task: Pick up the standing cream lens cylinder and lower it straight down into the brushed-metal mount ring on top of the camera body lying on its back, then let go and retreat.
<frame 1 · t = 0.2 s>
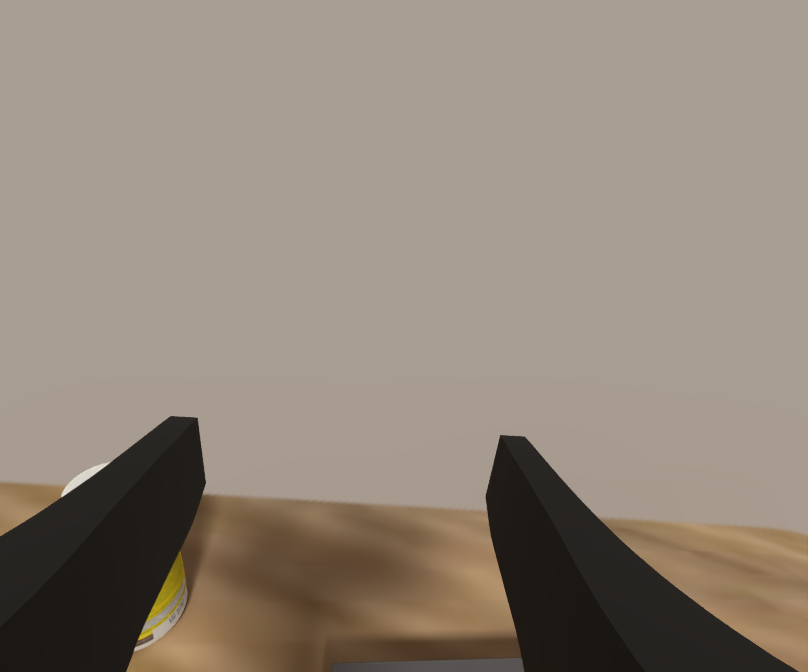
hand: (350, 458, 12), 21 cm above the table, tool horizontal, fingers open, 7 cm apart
supplement bottle: (140, 614, 29), on the table
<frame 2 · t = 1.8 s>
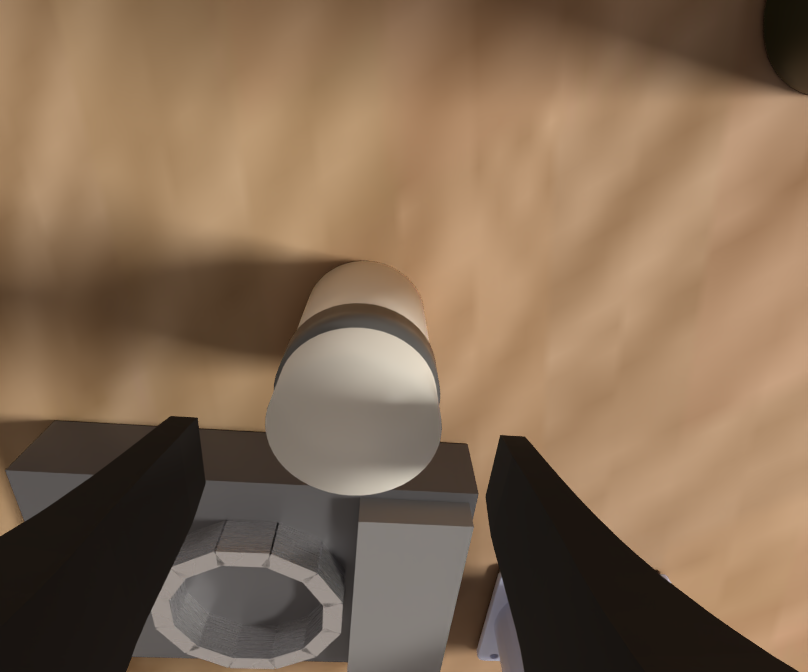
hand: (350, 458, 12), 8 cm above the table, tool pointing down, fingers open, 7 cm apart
lens: (365, 317, 19), on the table
mount ring: (252, 598, 21), point 3 cm above the table
camera body: (271, 527, 24), on the table
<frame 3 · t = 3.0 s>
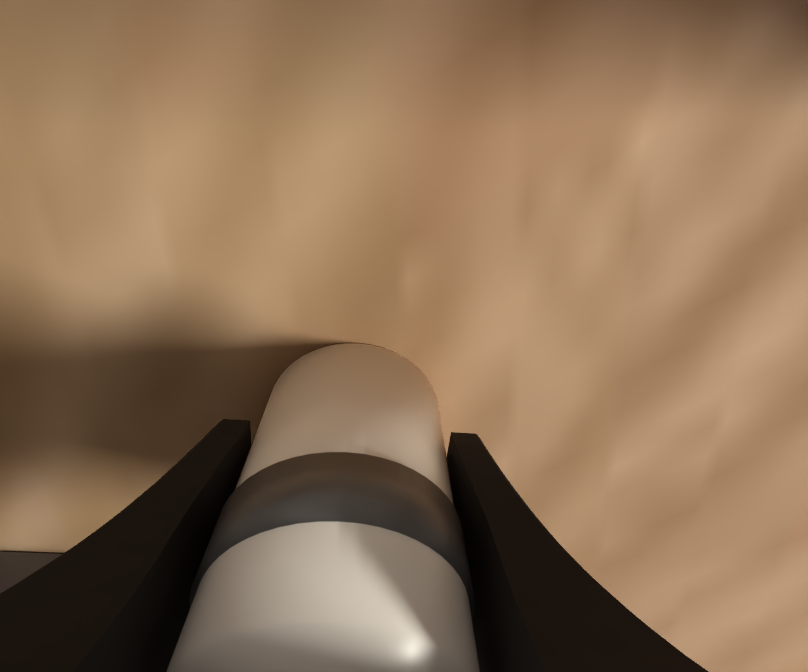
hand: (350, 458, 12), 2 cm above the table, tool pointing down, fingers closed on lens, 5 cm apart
lens: (354, 417, 13), on the table, touching gripper
camera body: (234, 664, 18), on the table
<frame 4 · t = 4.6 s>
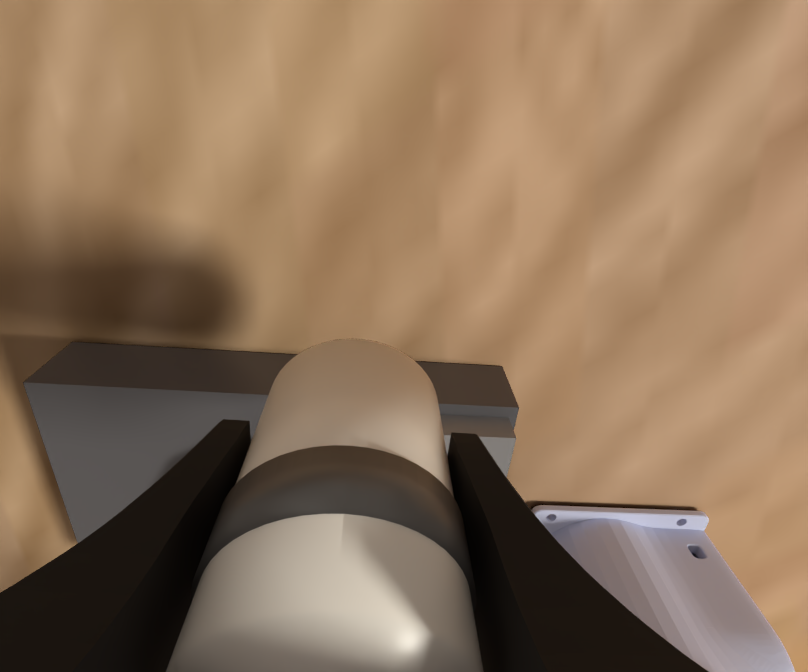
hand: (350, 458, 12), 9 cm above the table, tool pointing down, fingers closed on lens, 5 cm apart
lens: (354, 413, 13), point 7 cm above the table, touching gripper
camera body: (296, 462, 23), on the table
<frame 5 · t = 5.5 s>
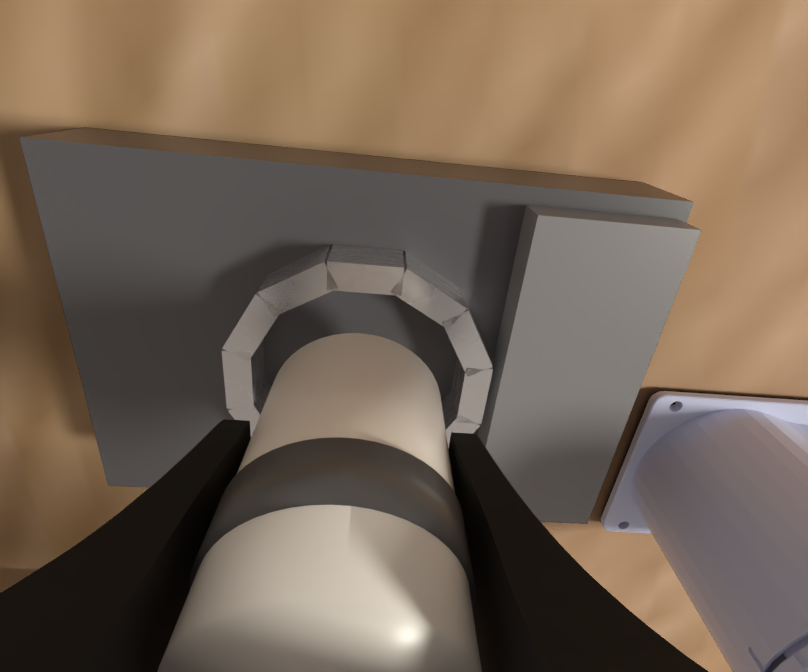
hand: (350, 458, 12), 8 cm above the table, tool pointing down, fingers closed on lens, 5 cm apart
lens: (356, 408, 13), point 6 cm above the table, touching gripper
mount ring: (359, 375, 15), point 3 cm above the table
camera body: (364, 322, 18), on the table
when the fingers open (6 cm above the table, at t = 6.3 s): lens stays where it is, resting on camera body.
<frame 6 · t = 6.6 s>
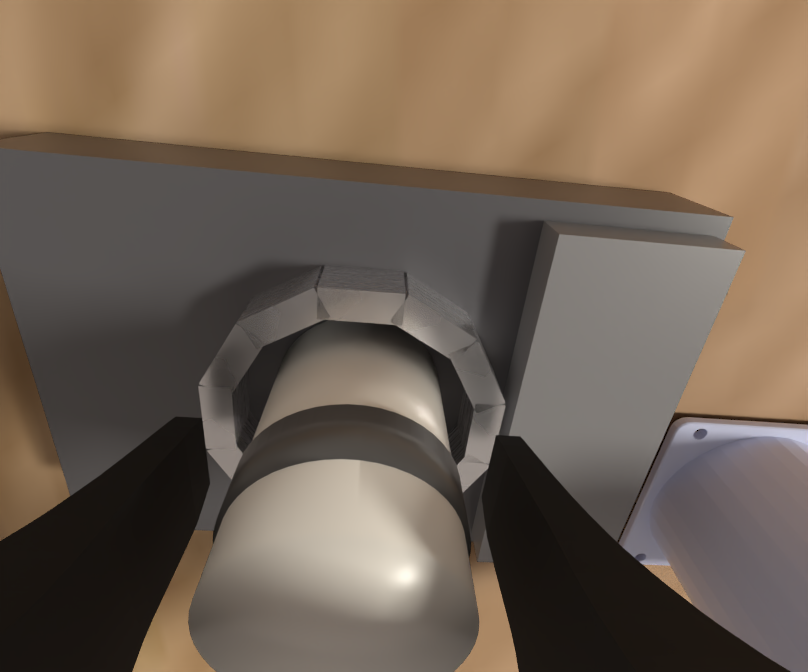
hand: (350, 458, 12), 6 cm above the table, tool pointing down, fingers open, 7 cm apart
lens: (359, 387, 14), point 3 cm above the table, touching camera body
mount ring: (355, 410, 13), point 3 cm above the table
camera body: (361, 345, 17), on the table
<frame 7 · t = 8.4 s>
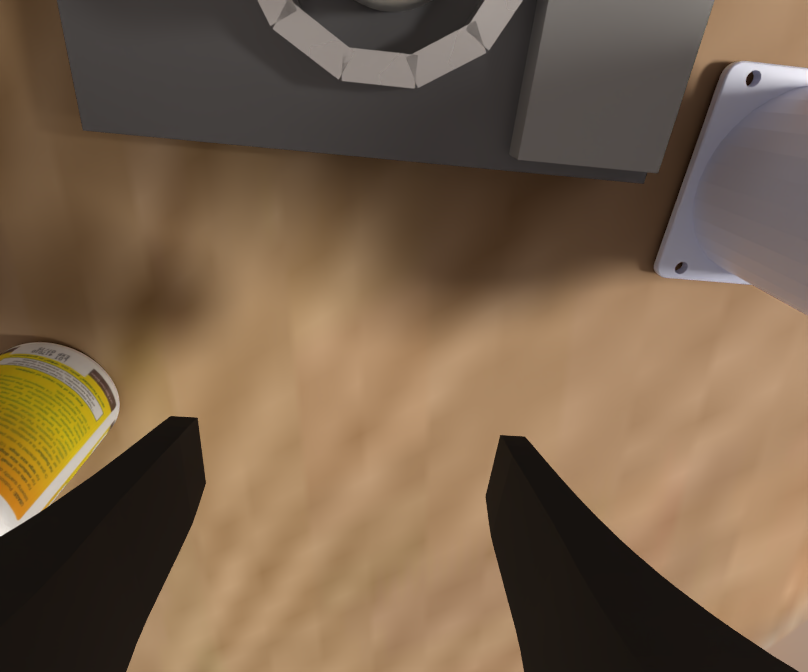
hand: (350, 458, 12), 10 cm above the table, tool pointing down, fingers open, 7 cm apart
supplement bottle: (66, 386, 23), on the table
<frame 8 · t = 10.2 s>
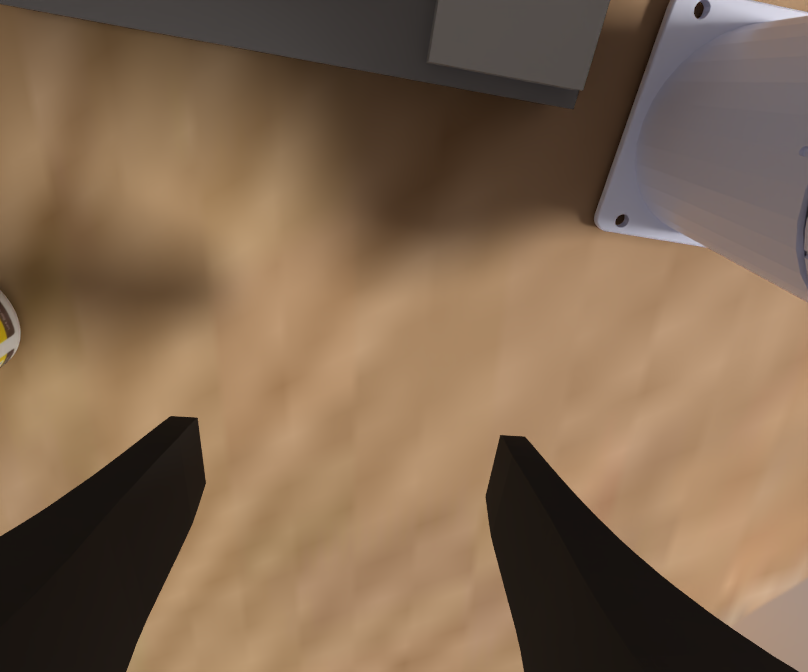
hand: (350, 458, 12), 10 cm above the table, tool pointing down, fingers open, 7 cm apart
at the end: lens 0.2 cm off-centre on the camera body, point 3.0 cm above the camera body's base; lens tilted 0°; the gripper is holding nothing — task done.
